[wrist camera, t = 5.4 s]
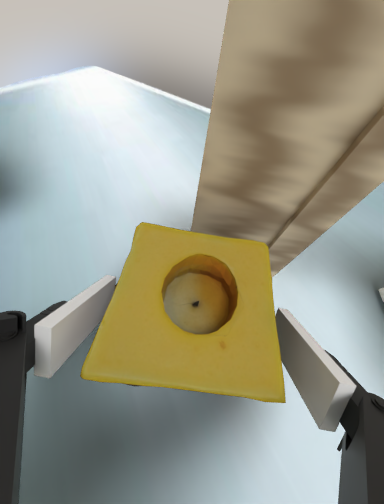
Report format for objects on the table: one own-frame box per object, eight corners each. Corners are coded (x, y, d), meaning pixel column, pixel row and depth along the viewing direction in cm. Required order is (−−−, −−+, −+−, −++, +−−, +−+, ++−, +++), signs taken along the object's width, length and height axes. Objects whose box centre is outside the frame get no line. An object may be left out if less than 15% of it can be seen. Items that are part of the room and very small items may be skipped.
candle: (118, 376, 17) (68, 385, 8) (146, 275, 22) (133, 217, 14) (230, 392, 17) (291, 417, 9) (231, 288, 22) (269, 240, 14)
